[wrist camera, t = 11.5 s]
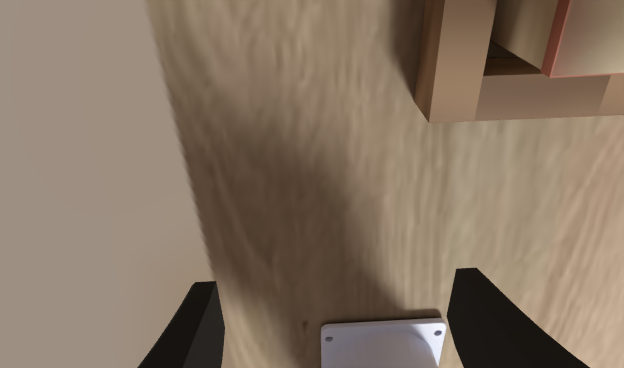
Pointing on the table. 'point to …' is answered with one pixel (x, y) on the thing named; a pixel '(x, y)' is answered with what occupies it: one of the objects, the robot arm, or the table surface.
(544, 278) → the table surface
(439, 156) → the table surface
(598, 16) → the pink-ended wooden beam
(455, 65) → the wooden square frame
